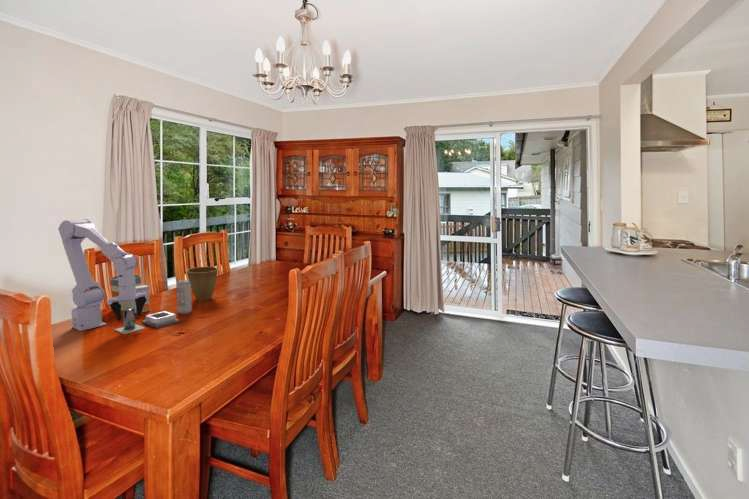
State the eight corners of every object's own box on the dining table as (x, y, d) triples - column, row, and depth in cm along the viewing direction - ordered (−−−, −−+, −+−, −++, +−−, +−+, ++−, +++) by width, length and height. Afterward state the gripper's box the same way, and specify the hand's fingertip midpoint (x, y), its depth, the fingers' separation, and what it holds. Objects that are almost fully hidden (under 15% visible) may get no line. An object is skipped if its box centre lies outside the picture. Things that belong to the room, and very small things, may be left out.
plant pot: (188, 296, 207) (187, 267, 205) (218, 294, 214) (217, 266, 211) (187, 304, 194) (186, 272, 192) (219, 301, 200) (218, 271, 198)
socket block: (156, 328, 159) (156, 320, 158) (141, 322, 165) (141, 315, 165) (179, 321, 167) (179, 314, 167) (164, 316, 174) (164, 309, 173)
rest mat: (124, 334, 151) (124, 333, 151) (114, 330, 155) (114, 329, 155) (145, 328, 158) (145, 327, 158) (135, 324, 162) (135, 323, 162)
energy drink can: (194, 311, 182) (193, 280, 180) (182, 315, 176) (181, 283, 174) (187, 309, 185) (185, 279, 183) (175, 312, 179) (173, 281, 177)
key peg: (127, 330, 154) (126, 311, 153) (121, 328, 156) (120, 309, 155) (137, 327, 158) (136, 308, 156) (131, 326, 159) (130, 307, 158)
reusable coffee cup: (118, 313, 177) (115, 281, 175) (107, 308, 184) (105, 277, 182) (147, 307, 187) (145, 277, 185) (136, 302, 194) (134, 273, 192)
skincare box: (136, 313, 177) (134, 288, 175) (132, 312, 179) (131, 287, 178) (150, 310, 182) (149, 286, 180) (146, 309, 184) (145, 284, 182)
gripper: (111, 289, 146) (114, 324, 148) (150, 283, 158) (152, 315, 160) (103, 287, 150) (105, 320, 152) (141, 280, 162) (143, 312, 164)
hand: (129, 317), depth 156 cm, fingers open, 7 cm apart
